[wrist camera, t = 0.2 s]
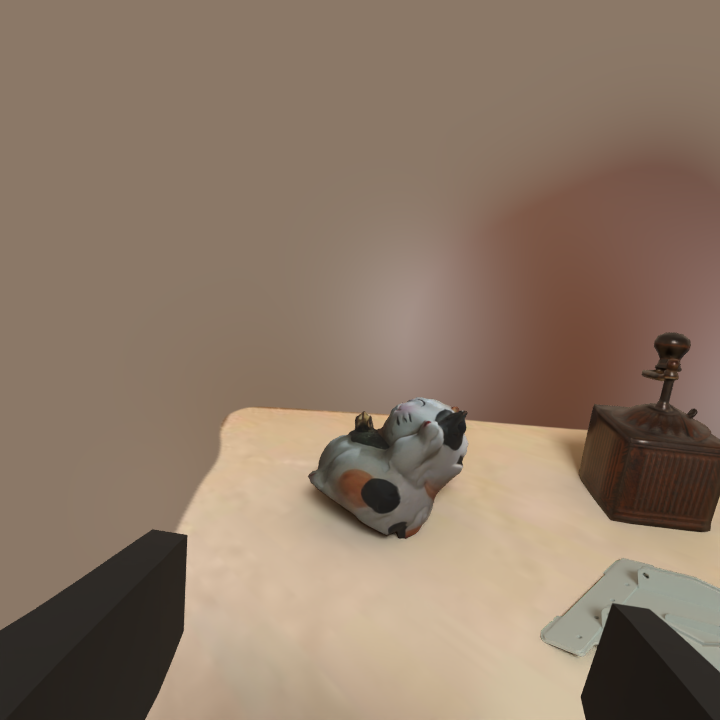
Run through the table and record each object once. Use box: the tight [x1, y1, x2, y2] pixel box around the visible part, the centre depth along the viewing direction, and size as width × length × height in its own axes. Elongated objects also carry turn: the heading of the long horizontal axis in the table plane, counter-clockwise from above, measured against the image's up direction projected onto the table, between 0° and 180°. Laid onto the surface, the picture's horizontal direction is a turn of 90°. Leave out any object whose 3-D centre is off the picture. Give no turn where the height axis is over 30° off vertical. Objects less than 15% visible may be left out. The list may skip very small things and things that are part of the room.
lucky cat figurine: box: [308, 398, 468, 538], centre depth 51 cm, size 15×12×14 cm
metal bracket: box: [541, 558, 720, 672], centre depth 38 cm, size 14×6×15 cm
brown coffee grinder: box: [579, 333, 720, 532], centre depth 59 cm, size 16×11×18 cm
